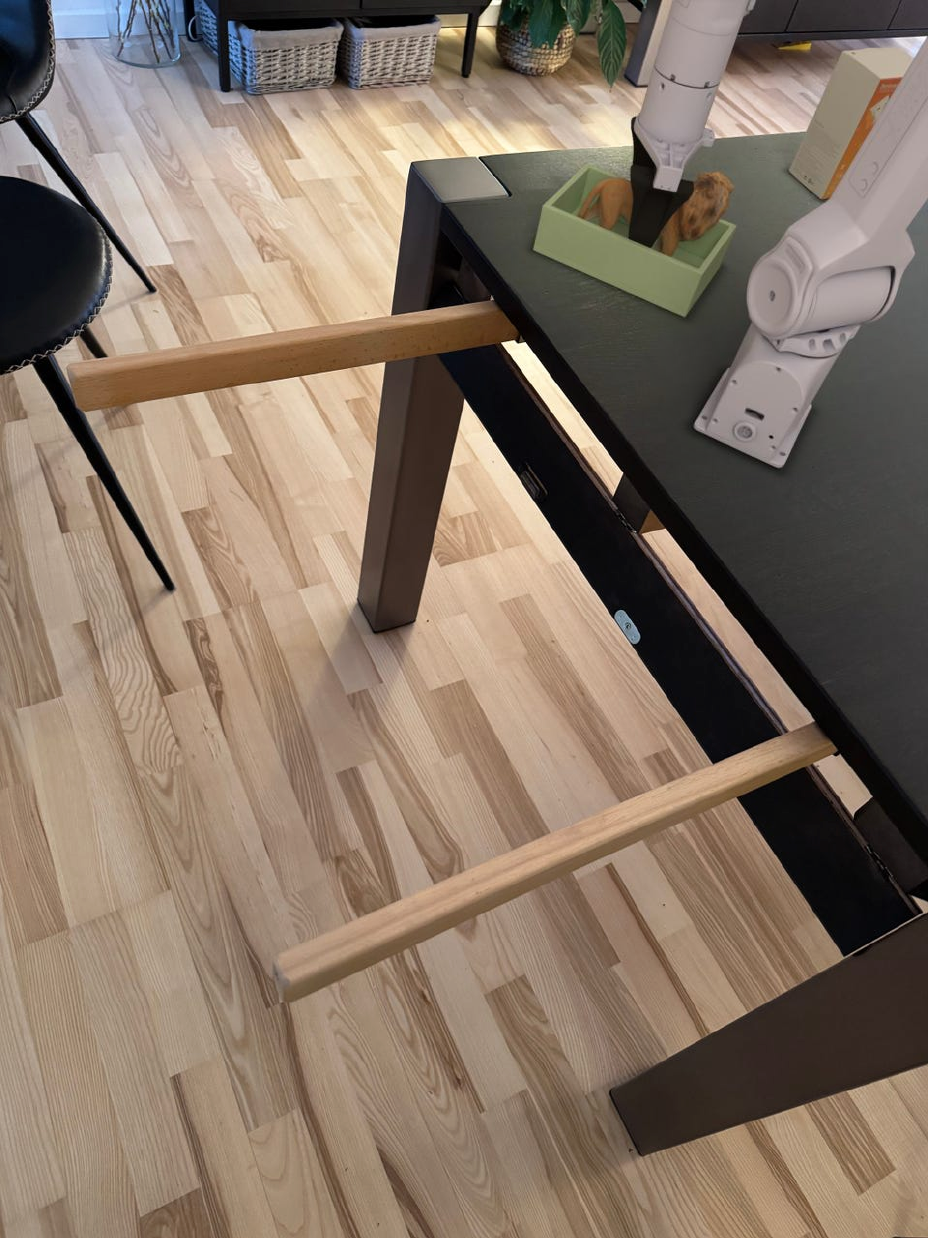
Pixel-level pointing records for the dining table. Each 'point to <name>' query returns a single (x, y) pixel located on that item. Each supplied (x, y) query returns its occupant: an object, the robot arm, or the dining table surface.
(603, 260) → the bin
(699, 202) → the lion figurine
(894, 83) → the small box
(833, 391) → the dining table surface
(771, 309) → the robot arm
